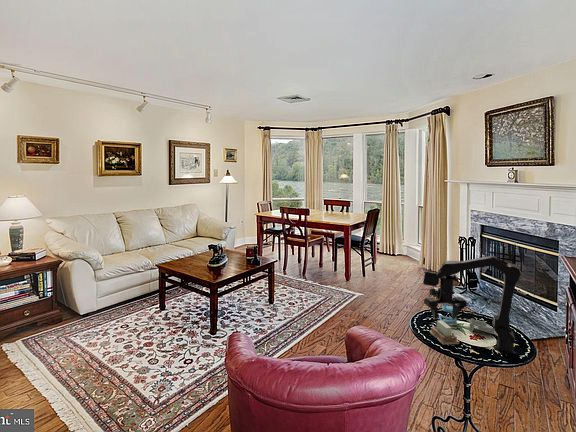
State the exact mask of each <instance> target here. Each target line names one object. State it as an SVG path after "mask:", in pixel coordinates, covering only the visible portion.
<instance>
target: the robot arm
mask: <svg viewBox="0 0 576 432" xmlns="http://www.w3.org/2000/svg"><path fill="white" fill-rule="evenodd" d="M487 267H493V268H495V269H496V270H498V271H499V272H501V273H502V274H503V288H502V293H501V299H500V305H499V309H498V310H499V311H498V313H497V314H493V320H492V321H491V322H492V328H493V329H495V332H496V333H497V334H498V336H496V343H495V344H496V345H493V349H495V350H497V351H498V352H499V353H500V354H502V355H516V354H517V352H516V351H514V347H515V346H514V345H515V341H516V337H515V334H514V331H513V329H511V324H510V315H511V309H512V303H513V298H514V292H515V287H516V285H517V284H518V282H519V281H520V277H521V270H520V269H519V267H518V266H517V265H516V264H515V263H511V262H510V263H508V262H507V261H505V260H503V259H500V258H498V257H497V256H495V255H489V256H488V255H487V256H484V257H477V258H473V259H468V260H446V261H444V262H442V264H441V267H440V268H439V269H438V270H436V271H437V272H435V271H429V270H424V278H423V285H424V286H431V287H437V286H438V285H439V283H440V285H439V287H438V288H437V290H436V289H435V288H429V296H432V297H425V298H424V300H423V304H425V305H426V306H427V307H428V308H429V309H430V310H431V313H432V317H433V320H437V316H438V310H439V305H443V304H448V305H451V306H453V310H452V314H451V318H452V319H455V317H456V318H457V316H458V314H459V313H460V312H461V311H462V310H463V309H465V308H466V307H467V305H468V302H467V300H466V299H465V298H463V297H461V296H456V297H455V296H454V297H453V295H455V291H454V284H455V281H456V282H459V277H458V276H457V274H458V273H461V272H463V271H467V270H474V269H480V268H487ZM435 298H436V299H435Z"/></svg>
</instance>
